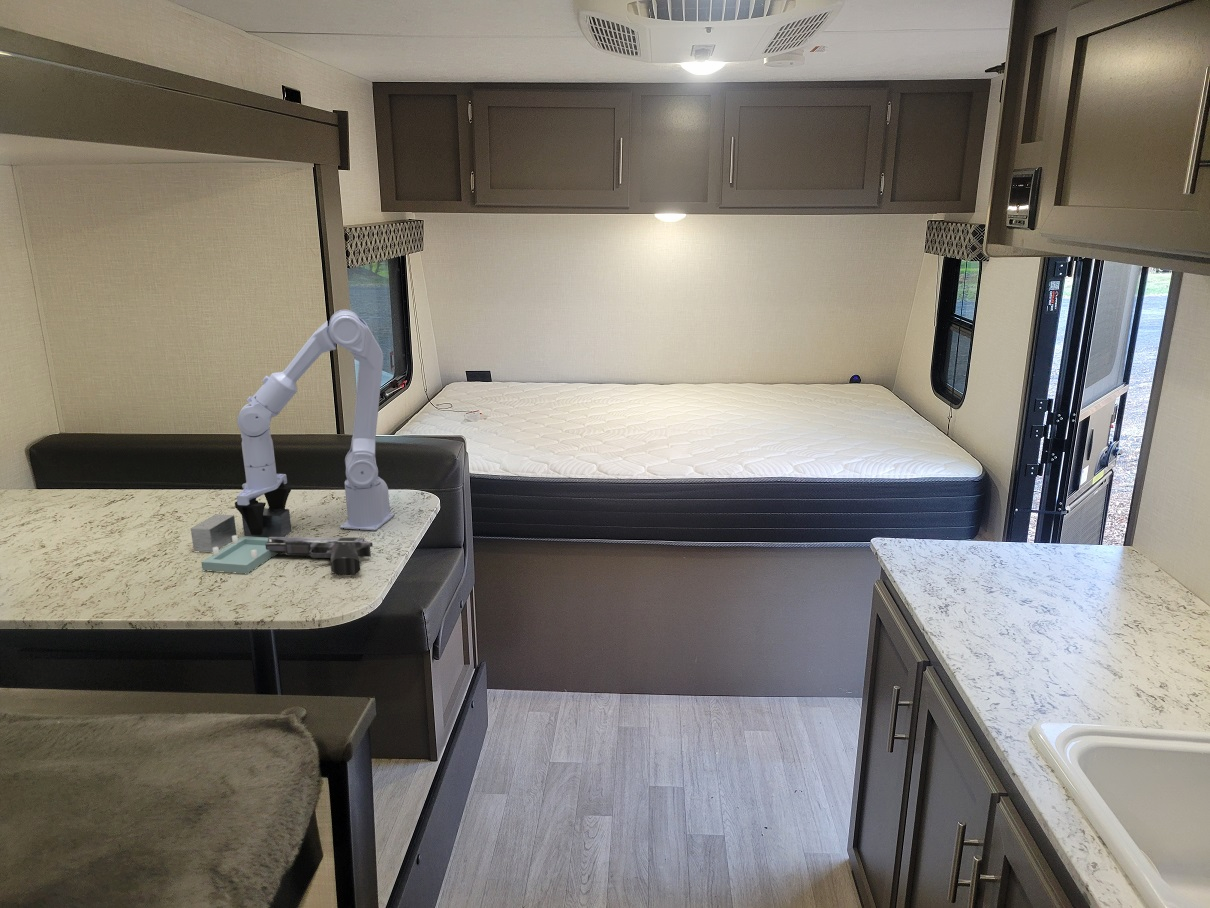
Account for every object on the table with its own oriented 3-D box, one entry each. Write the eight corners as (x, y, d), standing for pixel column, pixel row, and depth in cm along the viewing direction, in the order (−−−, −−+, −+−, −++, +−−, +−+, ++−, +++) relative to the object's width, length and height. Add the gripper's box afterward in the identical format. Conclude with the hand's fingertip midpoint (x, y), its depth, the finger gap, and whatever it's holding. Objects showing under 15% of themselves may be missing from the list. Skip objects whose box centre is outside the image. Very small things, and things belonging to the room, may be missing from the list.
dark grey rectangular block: (244, 537, 169) (241, 514, 168) (254, 530, 173) (252, 507, 172) (282, 539, 168) (279, 515, 167) (291, 532, 172) (289, 509, 171)
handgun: (358, 558, 149) (377, 535, 160) (243, 557, 149) (271, 534, 161) (359, 575, 149) (379, 551, 161) (245, 574, 150) (272, 550, 162)
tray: (244, 544, 165) (242, 529, 164) (286, 547, 164) (284, 532, 163) (202, 571, 153) (200, 554, 152) (247, 574, 151) (245, 557, 151)
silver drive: (218, 537, 169) (215, 514, 168) (237, 538, 169) (234, 515, 167) (194, 552, 162) (190, 528, 161) (213, 553, 161) (209, 529, 160)
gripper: (261, 452, 174) (269, 514, 178) (219, 472, 160) (228, 539, 164) (293, 454, 173) (300, 516, 177) (252, 474, 159) (261, 541, 163)
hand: (267, 527), depth 170 cm, fingers open, 7 cm apart
